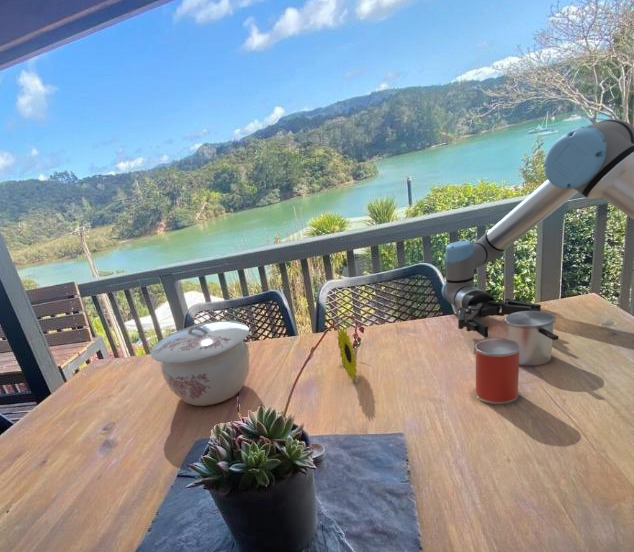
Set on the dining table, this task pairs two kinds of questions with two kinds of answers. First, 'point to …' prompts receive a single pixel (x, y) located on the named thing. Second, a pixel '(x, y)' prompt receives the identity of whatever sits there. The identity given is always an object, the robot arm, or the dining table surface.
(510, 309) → the robot arm
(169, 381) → the chamber pot
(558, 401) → the dining table surface
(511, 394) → the tin can
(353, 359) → the decorative plant
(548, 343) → the steel pot
